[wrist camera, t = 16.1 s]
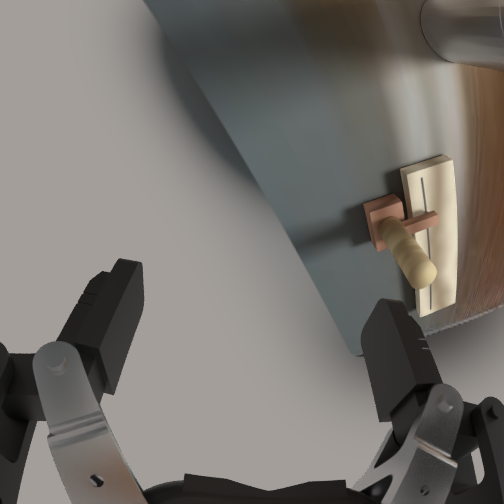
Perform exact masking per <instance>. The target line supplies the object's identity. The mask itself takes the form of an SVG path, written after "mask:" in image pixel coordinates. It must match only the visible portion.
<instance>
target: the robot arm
mask: <svg viewBox="0 0 504 504" xmlns="http://www.w3.org/2000/svg"><path fill="white" fill-rule="evenodd" d="M420 18H421V27H422V31H423V34H424V36H425V38H426V40H427V42H428V44H429V45H430V47H431V48H432V49H433V50H434V51H435V52H436V53H437V54H438V55H439V56H440V57H442V58H443V59H445V60H447V61H450V62H453V63H460V64H466V65H472V66H477V67H483V68H488V69H493V70H497V71H502V72H504V0H426V2H425V3H424V5H423V7H422V10H421V16H420ZM143 306H144V285H143V266H142V263H141V262H138V261H132V260H126V259H121V258H120V259H118V260H117V262H116V263H115V265H114V267H113V269H112V270H111V272H110V273H109V272H104V271H102V272H100V273H99V274H98V275H96V276H95V277H94V278H92V279H91V280H90V281H89V283H88V285H87V287H86V288H85V290H84V293H83V294H82V295H81V297H80V299H79V300H78V304H76V306H75V307H74V309H73V311H72V313H71V314H70V317H69V318H68V320H67V322H66V324H65V325H64V327H63V329H62V331H61V333H60V335H59V337H58V338H57V340H56V341H54V342H50V343H47V344H45V345H43V346H42V347H41V348H40V349H39V350H38V351H37V352H36V353H34V354H15V353H8V351H7V349H6V348H5V346H4V345H3V344H2V343H1V342H0V504H17V499H18V493H19V489H20V483H21V479H22V475H23V471H24V467H25V463H26V459H27V455H28V451H29V448H30V444H31V441H32V437H33V433H34V430H35V427H36V423H37V421H47V424H48V427H49V432H50V434H49V435H48V437H47V439H48V444H49V448H50V451H51V454H52V456H53V459H54V462H55V464H56V467H57V470H58V472H59V475H60V477H61V480H62V482H63V485H64V487H65V489H66V492H67V494H68V496H69V498H70V500H71V503H72V504H504V405H503V404H502V403H501V401H499V400H498V399H497V398H494V397H487V398H485V399H484V400H483V401H482V402H481V403H480V404H479V405H476V404H472V403H468V402H464V401H463V400H462V398H461V396H460V394H459V393H458V391H457V390H456V389H455V388H453V387H451V386H450V385H447V384H443V382H442V379H441V377H440V374H439V371H438V369H437V366H436V364H435V361H434V359H433V356H432V354H431V351H430V350H429V346H428V344H427V342H426V341H425V337H424V334H423V332H422V330H421V327H420V326H419V325H418V324H417V322H416V321H415V320H414V319H413V318H412V316H409V315H408V313H407V310H406V308H405V306H404V304H403V302H402V301H400V300H392V299H384V298H382V299H380V300H379V301H378V302H377V304H376V306H375V308H374V310H373V312H372V313H371V315H370V317H369V319H368V321H367V322H366V324H365V326H364V328H363V330H362V334H361V346H362V350H363V354H364V358H365V362H366V365H367V369H368V374H369V378H370V382H371V387H372V391H373V395H374V400H375V404H376V408H377V413H378V418H379V422H390V421H392V425H393V427H392V428H391V429H390V430H389V431H388V433H387V435H386V437H385V439H384V441H383V443H382V444H381V446H380V448H379V450H378V452H377V454H376V456H375V457H374V459H373V461H372V463H371V465H370V466H369V468H368V469H367V471H366V472H365V474H364V475H363V476H362V477H361V478H360V479H359V480H358V481H357V482H356V483H355V485H354V486H353V487H352V488H351V489H349V488H346V481H345V480H334V481H313V482H306V483H303V484H298V485H294V486H290V487H286V488H282V489H277V490H272V491H267V490H262V489H258V488H255V487H251V486H248V485H244V484H241V483H238V482H235V481H232V480H228V479H224V478H214V477H205V476H198V475H192V474H185V475H184V480H182V481H172V482H166V483H163V484H159V485H156V486H153V487H151V488H148V489H146V490H145V491H143V489H142V488H141V486H140V484H139V483H138V481H137V479H136V477H135V475H134V474H133V472H132V470H131V468H130V466H129V465H128V463H127V461H126V459H125V457H124V455H123V454H122V452H121V450H120V448H119V446H118V444H117V441H116V440H115V437H114V435H113V433H112V431H111V429H110V427H109V425H108V422H107V420H106V418H105V416H104V413H103V411H102V409H101V407H100V402H101V399H102V396H103V393H107V394H111V395H114V393H115V390H116V387H117V384H118V381H119V378H120V375H121V372H122V369H123V366H124V363H125V360H126V357H127V354H128V351H129V348H130V346H131V342H132V340H133V337H134V334H135V331H136V329H137V326H138V323H139V320H140V318H141V315H142V311H143ZM478 447H479V449H480V453H481V457H482V462H483V466H484V471H485V475H484V478H483V480H482V482H481V483H480V484H477V480H476V475H475V470H474V465H473V461H472V456H471V452H473V451H474V450H475V449H477V448H478Z"/></svg>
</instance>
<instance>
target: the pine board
mask: <svg viewBox="0 0 504 504" xmlns="http://www.w3.org/2000/svg"><path fill="white" fill-rule="evenodd" d="M400 173H401V178H402V184H403V189H404V195H405V201H406V208H407V214H408V219H411V218H414V217H416V216H419V215H422V214H424V213H425V212H426V211H427V212H430V211H433V210H434V211H435V212H436V213H437V214H438V215H439V224H438V225H435V226H432V227H430V228H427V229H425V230H422V231H419V232H417V233H414V234H411V235H412V236H413V238H414V239H415V240H416V242H417V243H418V244H419V246H420V247H421V248H422V250H423V251H424V252H425V254H426V255H427V256H428V258H429V259H430V260H431V262H432V263H433V265H434V266H435V267H436V270H437V274H436V277H435V279H434V281H433V282H432V283H431V284H430V285H429V286H427V287H425V288H423V289H415V295H416V310H417V312H418V314H419V316H420V318H421V317H423V316H425V315H428V314H430V313H433V312H435V311H437V310H440V309H442V308H444V307H447V306H449V305H451V304H453V303H455V297H456V282H457V205H456V190H455V178H454V168H453V160H452V159H451V158H449V157H448V156H446V155H442V156H438V157H435V158H432V159H429V160H426V161H423V162H420V163H417V164H414V165H410V166H407V167H404V168H401V169H400Z"/></svg>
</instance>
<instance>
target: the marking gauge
mask: <svg viewBox="0 0 504 504" xmlns="http://www.w3.org/2000/svg"><path fill="white" fill-rule="evenodd" d="M363 205H364V210H365V214H366V218H367V223H368V227H369V232H370V236H371V241H372V243H373V245H374V247H375V248H376V250H377V252H379V251H381V250H384V249H387V248H388V249H389V250H390V252H391V253H392V255H393V257H394V258H395V260H396V261H397V263H398V265H399V266H400V268H401V270H402V271H403V273H404V275H405V276H406V278H407V280H408V281H409V283H410V285H411V286H412V287H413V288H414V289H423V288H425V287H427V286H429V285H430V284H431V283H432V282H433V281H434V279H435V277H436V274H437V270H436V267H435V266H434V265H433V263H432V262H431V260H430V259H429V258H428V256H427V255H426V254H425V252H424V251H423V250H422V248H421V247H420V246H419V244H418V243H417V242H416V240H415V239H414V238H413V236H412V235H411V234H414V233H417V232H419V231H422V230H425V229H427V228H430V227H432V226H435V225H438V224H439V215H438V214H437V213H436V212H435V211H434V210H433V211H430V212H427V211H426V212H425V213H424V214H422V215H419V216H416V217H414V218H411V219H408V220H405V219H404V212H403V206H402V201H401V200H400V199H399V198H398V197H397V196H396V195H395V194H394V193H393V194H390V195H387V196H384V197H381V198H378V199H375V200H373V201H370V202H367V203H364V204H363Z"/></svg>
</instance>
